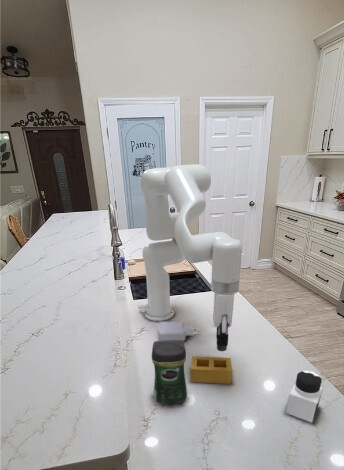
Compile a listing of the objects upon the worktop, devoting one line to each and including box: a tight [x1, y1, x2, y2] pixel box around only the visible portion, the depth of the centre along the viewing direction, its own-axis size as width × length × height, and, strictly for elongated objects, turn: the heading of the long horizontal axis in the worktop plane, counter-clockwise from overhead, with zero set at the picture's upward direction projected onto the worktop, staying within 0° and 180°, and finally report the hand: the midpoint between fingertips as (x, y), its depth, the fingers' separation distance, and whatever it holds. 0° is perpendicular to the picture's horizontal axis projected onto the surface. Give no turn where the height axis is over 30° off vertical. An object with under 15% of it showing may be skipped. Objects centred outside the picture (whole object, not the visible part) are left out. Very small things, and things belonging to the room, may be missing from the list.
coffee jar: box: [151, 340, 188, 405], centre depth 93 cm, size 10×8×19 cm
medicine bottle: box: [285, 370, 324, 423], centre depth 88 cm, size 7×7×12 cm
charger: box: [158, 320, 200, 342], centre depth 126 cm, size 5×9×15 cm
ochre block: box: [190, 355, 233, 385], centre depth 104 cm, size 12×7×5 cm, turn 85°
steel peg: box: [216, 323, 228, 352], centre depth 98 cm, size 3×3×8 cm
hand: (221, 341), depth 98 cm, fingers closed on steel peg, 3 cm apart
